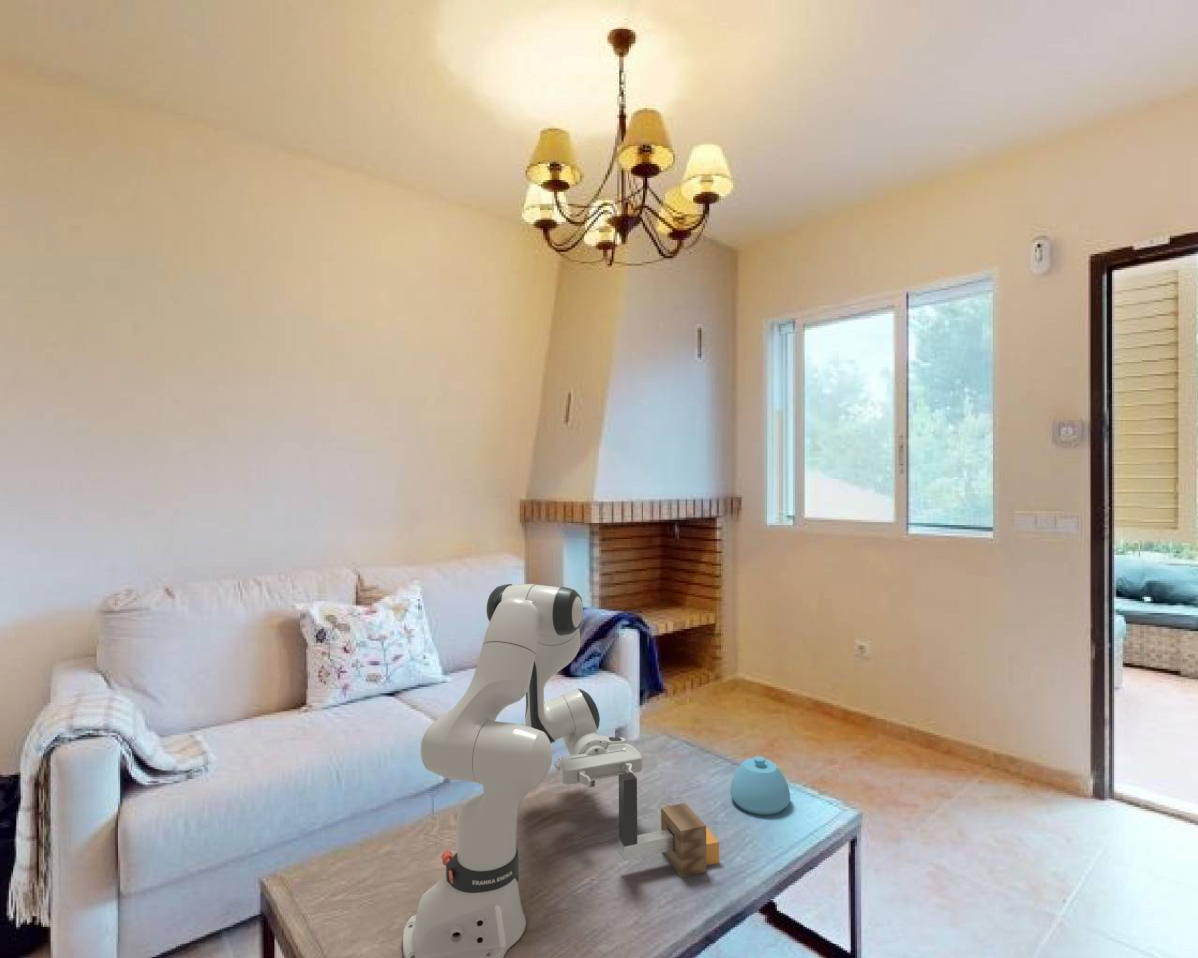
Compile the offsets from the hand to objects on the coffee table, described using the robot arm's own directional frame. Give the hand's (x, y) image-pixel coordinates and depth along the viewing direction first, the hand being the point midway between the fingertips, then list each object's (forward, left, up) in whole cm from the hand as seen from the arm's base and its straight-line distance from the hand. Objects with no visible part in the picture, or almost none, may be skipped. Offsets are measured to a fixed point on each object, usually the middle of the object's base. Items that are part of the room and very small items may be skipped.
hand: (611, 780), depth 147 cm
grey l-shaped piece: (+6, -11, -11) cm, 17 cm away
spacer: (+18, -11, -15) cm, 26 cm away
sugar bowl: (+43, +5, -15) cm, 46 cm away
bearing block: (+13, -11, -15) cm, 23 cm away
